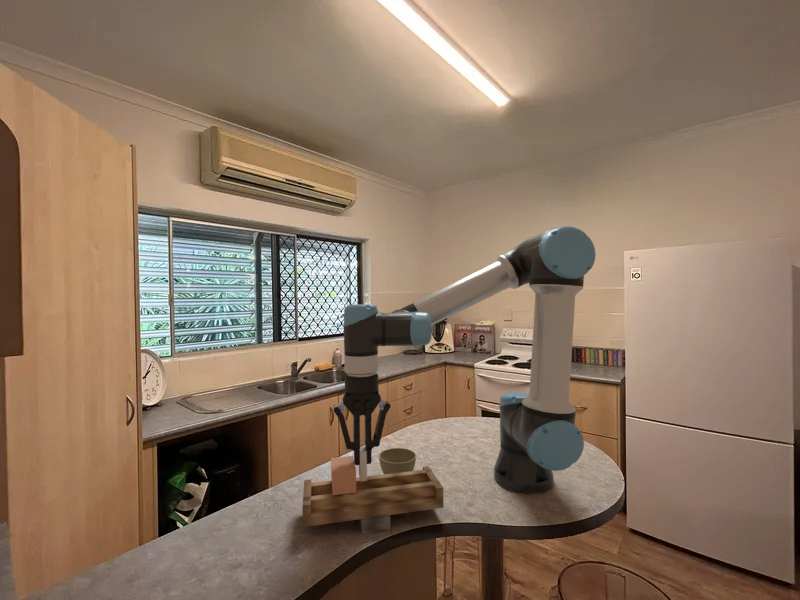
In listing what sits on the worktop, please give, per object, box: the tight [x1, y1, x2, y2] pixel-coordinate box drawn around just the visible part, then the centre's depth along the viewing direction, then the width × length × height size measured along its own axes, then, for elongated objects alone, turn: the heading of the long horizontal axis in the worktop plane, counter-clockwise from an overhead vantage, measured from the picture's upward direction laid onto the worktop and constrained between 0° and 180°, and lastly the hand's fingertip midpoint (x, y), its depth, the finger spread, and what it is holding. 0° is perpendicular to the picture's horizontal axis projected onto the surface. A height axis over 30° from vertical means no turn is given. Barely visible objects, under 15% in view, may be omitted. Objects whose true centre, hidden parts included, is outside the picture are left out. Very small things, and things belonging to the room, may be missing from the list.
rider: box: [330, 455, 357, 495], centre depth 84 cm, size 5×7×7 cm
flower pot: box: [378, 447, 417, 475], centre depth 102 cm, size 10×10×7 cm
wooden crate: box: [302, 465, 444, 535], centre depth 86 cm, size 30×12×8 cm, turn 102°
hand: (363, 478), depth 85 cm, fingers closed
